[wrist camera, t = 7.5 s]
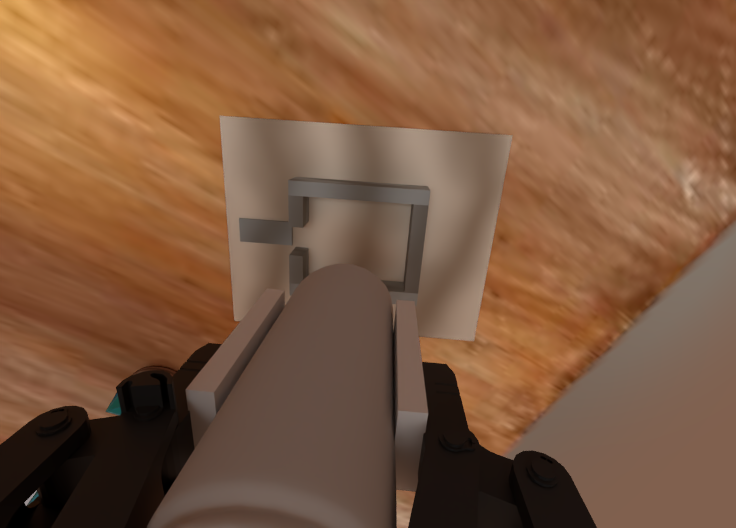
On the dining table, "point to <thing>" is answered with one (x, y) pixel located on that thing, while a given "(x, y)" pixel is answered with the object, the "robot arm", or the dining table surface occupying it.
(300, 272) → the holder board
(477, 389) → the dining table surface
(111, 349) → the dining table surface
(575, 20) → the dining table surface
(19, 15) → the dining table surface
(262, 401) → the beverage can
